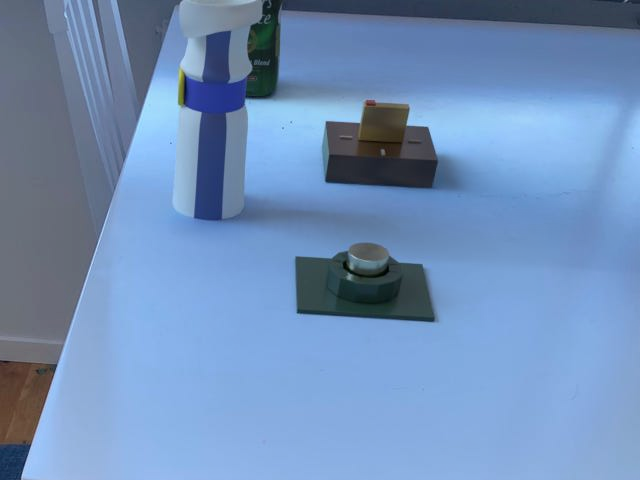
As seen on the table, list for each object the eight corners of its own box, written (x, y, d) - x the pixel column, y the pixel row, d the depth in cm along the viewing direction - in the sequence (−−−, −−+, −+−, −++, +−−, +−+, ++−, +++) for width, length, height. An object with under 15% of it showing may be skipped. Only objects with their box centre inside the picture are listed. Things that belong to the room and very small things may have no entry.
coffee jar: (202, 95, 123) (211, -80, 110) (209, 75, 129) (219, -94, 115) (275, 101, 123) (294, -74, 109) (280, 81, 128) (298, -89, 114)
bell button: (383, 262, 86) (387, 243, 84) (386, 281, 83) (390, 262, 82) (344, 260, 86) (347, 241, 84) (346, 279, 83) (349, 259, 82)
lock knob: (401, 138, 107) (409, 101, 104) (402, 143, 106) (410, 105, 103) (357, 135, 107) (364, 99, 104) (358, 140, 106) (364, 103, 104)
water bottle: (166, 221, 98) (175, -73, 80) (170, 187, 104) (178, -95, 85) (245, 224, 98) (272, -70, 80) (244, 190, 104) (269, -92, 85)
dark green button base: (417, 285, 90) (427, 245, 87) (428, 340, 84) (440, 298, 81) (292, 278, 91) (297, 237, 88) (294, 331, 84) (300, 289, 81)
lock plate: (422, 153, 112) (428, 125, 110) (431, 188, 105) (438, 158, 103) (321, 147, 113) (325, 119, 110) (324, 182, 106) (329, 152, 104)
